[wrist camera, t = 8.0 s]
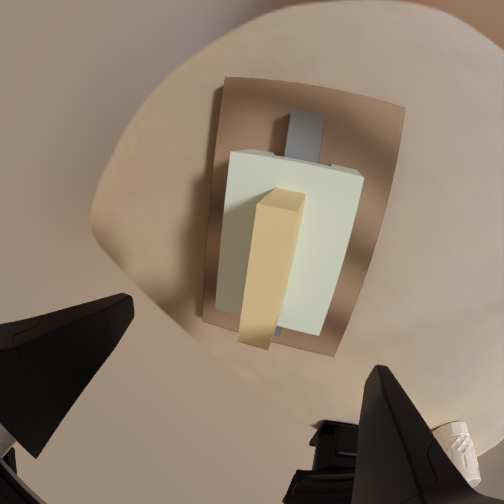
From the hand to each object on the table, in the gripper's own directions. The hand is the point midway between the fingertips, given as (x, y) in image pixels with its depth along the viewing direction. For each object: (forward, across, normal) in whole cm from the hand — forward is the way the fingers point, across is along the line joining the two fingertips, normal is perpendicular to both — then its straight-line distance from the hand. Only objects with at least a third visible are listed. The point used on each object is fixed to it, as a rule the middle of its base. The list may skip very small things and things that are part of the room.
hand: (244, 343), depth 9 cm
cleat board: (+13, 0, 0) cm, 13 cm away
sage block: (+11, 0, 0) cm, 11 cm away
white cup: (+13, -28, +23) cm, 38 cm away
